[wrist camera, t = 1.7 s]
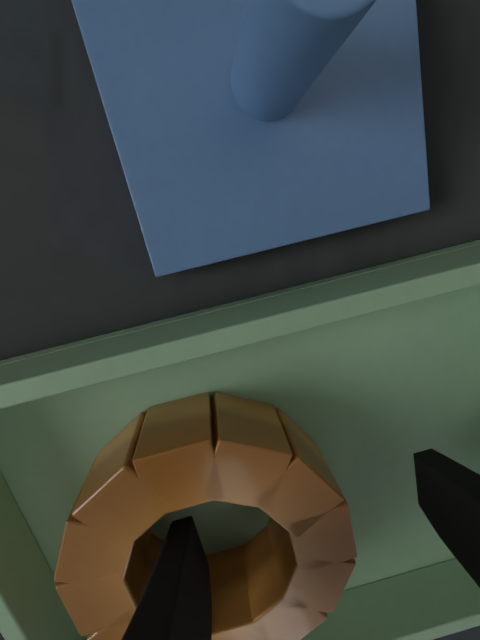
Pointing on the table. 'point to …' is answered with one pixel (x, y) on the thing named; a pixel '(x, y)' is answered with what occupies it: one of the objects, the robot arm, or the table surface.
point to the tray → (282, 392)
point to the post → (259, 119)
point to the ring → (201, 487)
